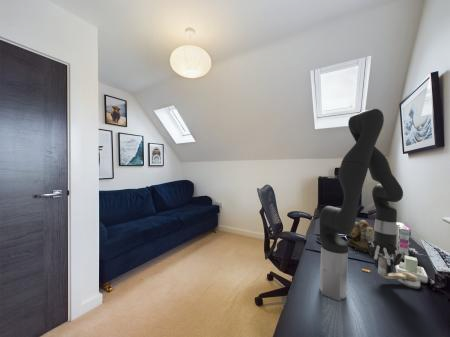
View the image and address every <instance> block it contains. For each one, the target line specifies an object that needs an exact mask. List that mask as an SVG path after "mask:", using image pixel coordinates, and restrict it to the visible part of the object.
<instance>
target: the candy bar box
mask: <svg viewBox="0 0 450 337" xmlns="http://www.w3.org/2000/svg"><path fill="white" fill-rule="evenodd" d="M404 225H405V224H404ZM404 225H398V240H397V250H398V251H399V252H401V253H404V254H405V255H406V256H410V247H411V235H412V232H411V231H412V230H411V227H410V226H408V225H405V226H404ZM405 255H404V257H403V259H402V260H404V261H405Z"/></svg>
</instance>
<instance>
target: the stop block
mask: <svg viewBox="0 0 450 337" xmlns="http://www.w3.org/2000/svg"><path fill="white" fill-rule="evenodd" d="M403 263H404V270H406V271H410V272H414V273H417V266H418V263H419V262H418V259H417V257H413V256H410V255H409V256H406V255H405V260H404V262H403Z"/></svg>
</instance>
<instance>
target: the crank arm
mask: <svg viewBox="0 0 450 337" xmlns="http://www.w3.org/2000/svg"><path fill="white" fill-rule="evenodd" d="M377 274H378V275H380V276H381V277H382V278H384V279H389V280H390V279H392V280H393V279H394V280H398V279H407V280H410V281H417V276H415V275H414V274H411V273H408V272H402V273H397V272H392V273H390V274H388V273H387V259H386V258H385V255H384V256H383V255H381V256H379V259H378V269H377Z"/></svg>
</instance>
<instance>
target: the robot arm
mask: <svg viewBox="0 0 450 337" xmlns="http://www.w3.org/2000/svg"><path fill="white" fill-rule="evenodd" d="M384 116H385V115H384V113H383V112H382V110H381V109H378V108H371V109H367V110H364V111H361V112H358V113H355V114H353V115H352V116H350V117H349V119H348V122H347V123H348V124H347V125H348V128H349V129H348V130H349V131H350V133H351V136H352V137H353V139H354V141H355V143H354V145H353V146H352V147H351V148H350V150H348V152H347V153H346V154H345V155H344V157H343V159H342V161H341V164H340V166H339V170H338V174H337V175H338V176H337V177H338V180H339V183H340V186H341V189H342V191H343V202H342V206H341V207H336V206H333V205H332V206H331V205H326V206H324V207H323V208H322V209H321V212H320V215H319V240H320V242H321V244H320V246H321V248H320V263H319V264H320V269H319V291H320V292H321V295H323V296H326V297H328V298H330V299H333V300H335V301H337V302H341V300H344V299H346V298H347V285H348V283H347V282H348V265H349V264H348V262H349V246H348V244H347V242H348V241H346V240H344V238H342V236H340V235H344V236H348V234H350V233H351V232H352V230H353V228H354V226H355V222H357V215H358V209H359V203H360V199H361V196H362V190H363V187H364V184H365V181H366V177H367V174H368V171H369V175H370V177H371V179H372V180H373V181H375V182H378V184H376V185H375V186H374V187H373V188H372V191H371V192H372V193H371V195H372V201H373V204H374V207H375V218H374V219H375V221H374V228H373V229H374V241H373V242H367V247H368V250H369V253H368V254H369V256H371V257H372V258H373V259H374V267H375V269H377V270H378V259H379V256H383V255H384V257H385V258H386V259H387V273H388V274H390V273H394V266H396V265H399V264H400V262H402V260H404V259H403V257H404V255H405V254H404V253H401V252H399V251H398V250H397V248H396V238H397V223H396V222H397V220H398V219H397V217H398V212H397V209H396V208H395V207H393V206H392V205H391V204H390V203H389V202H391V203H398V202H400V201H401V200H402V199H403V197H404V191H403V187H402V186H401V184H400V183H399V182H398V179H396V177H395V175H393V173H392V169H391V167H390V163H389V161H388V159H387V158H386V155H385V154H384V153H382V151H380V149H379V148H377V147H376V143H377V141H378V139H379V136H380V134H381V131H382V129H383V125H384V122H385V119H384ZM339 234H340V235H339ZM374 246H375V248H376V251H375V249H374ZM394 254H395V258H394Z"/></svg>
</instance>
